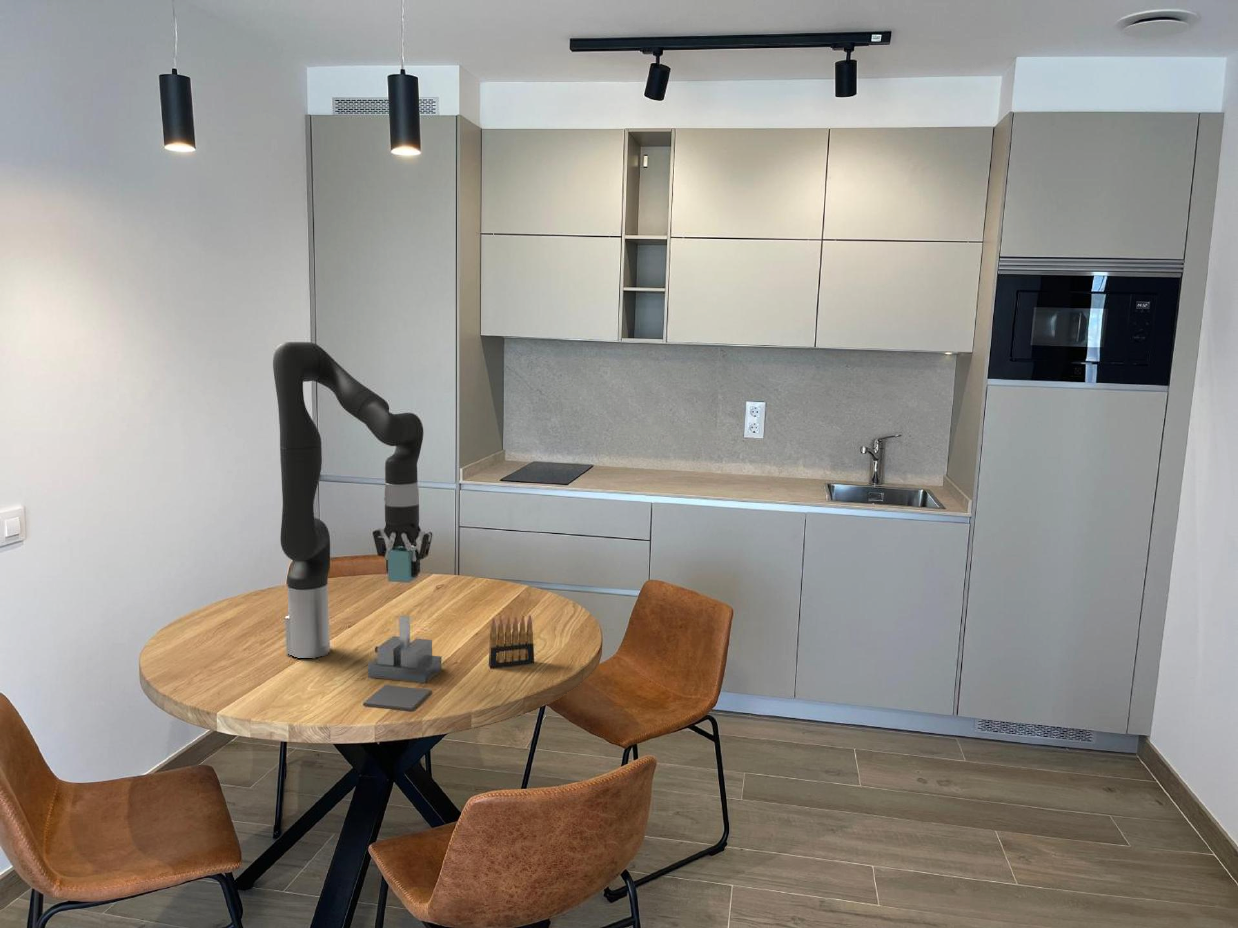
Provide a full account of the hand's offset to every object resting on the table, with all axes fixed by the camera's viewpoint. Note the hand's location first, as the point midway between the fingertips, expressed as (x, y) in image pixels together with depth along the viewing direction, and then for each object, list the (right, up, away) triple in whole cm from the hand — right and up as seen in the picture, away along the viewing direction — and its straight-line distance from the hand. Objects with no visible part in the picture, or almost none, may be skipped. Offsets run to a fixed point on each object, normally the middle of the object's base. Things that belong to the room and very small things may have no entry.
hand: (403, 575), depth 203 cm
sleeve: (0, -1, 0) cm, 1 cm away
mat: (+2, -25, -11) cm, 28 cm away
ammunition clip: (+24, -23, +9) cm, 34 cm away
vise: (0, -23, +3) cm, 23 cm away
